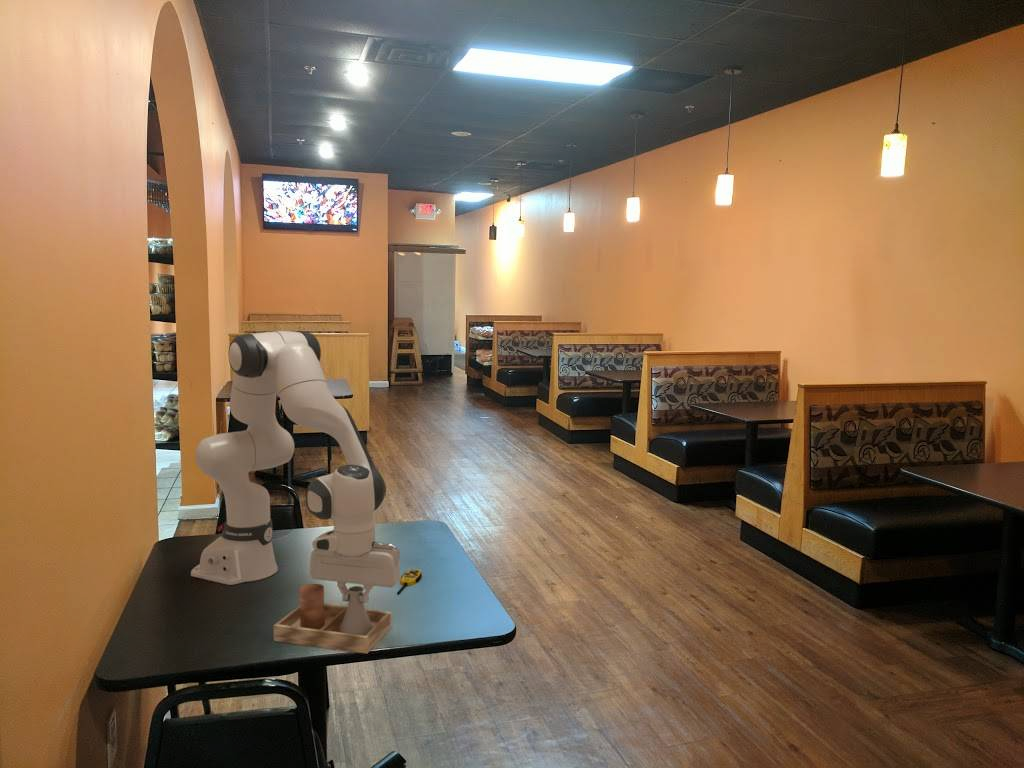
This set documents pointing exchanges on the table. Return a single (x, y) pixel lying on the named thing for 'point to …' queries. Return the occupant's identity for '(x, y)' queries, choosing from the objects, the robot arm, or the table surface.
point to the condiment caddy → (327, 624)
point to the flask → (355, 615)
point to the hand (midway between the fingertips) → (355, 601)
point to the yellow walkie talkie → (410, 578)
